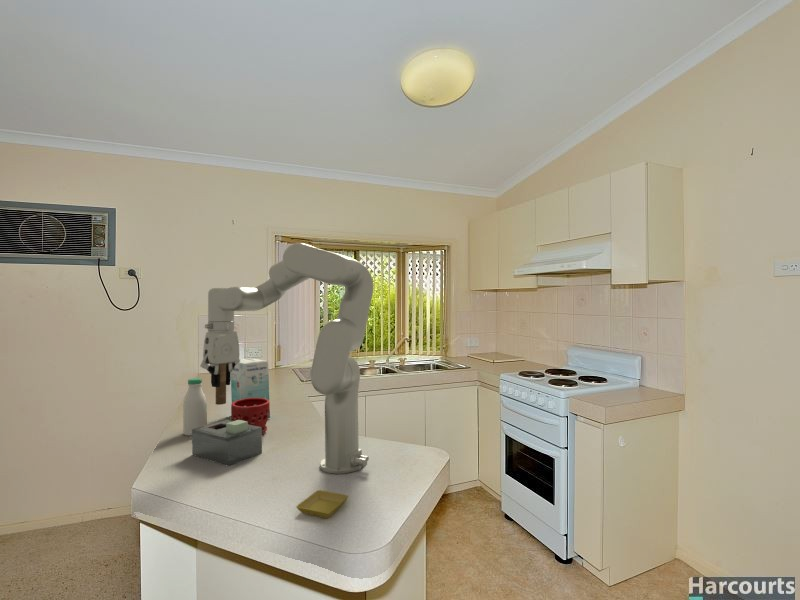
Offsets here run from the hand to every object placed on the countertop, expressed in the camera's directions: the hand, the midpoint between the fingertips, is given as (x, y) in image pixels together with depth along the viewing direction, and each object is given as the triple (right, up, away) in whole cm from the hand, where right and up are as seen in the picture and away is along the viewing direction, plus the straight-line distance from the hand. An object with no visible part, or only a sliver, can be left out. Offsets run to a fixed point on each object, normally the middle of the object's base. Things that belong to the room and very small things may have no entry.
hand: (220, 385), depth 123 cm
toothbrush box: (-7, -23, +43) cm, 49 cm away
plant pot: (+2, -22, +20) cm, 30 cm away
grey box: (+2, -22, 0) cm, 22 cm away
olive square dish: (+39, -21, -35) cm, 56 cm away
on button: (+6, -16, -2) cm, 17 cm away
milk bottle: (-20, -23, +22) cm, 38 cm away
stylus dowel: (0, -6, 0) cm, 6 cm away
